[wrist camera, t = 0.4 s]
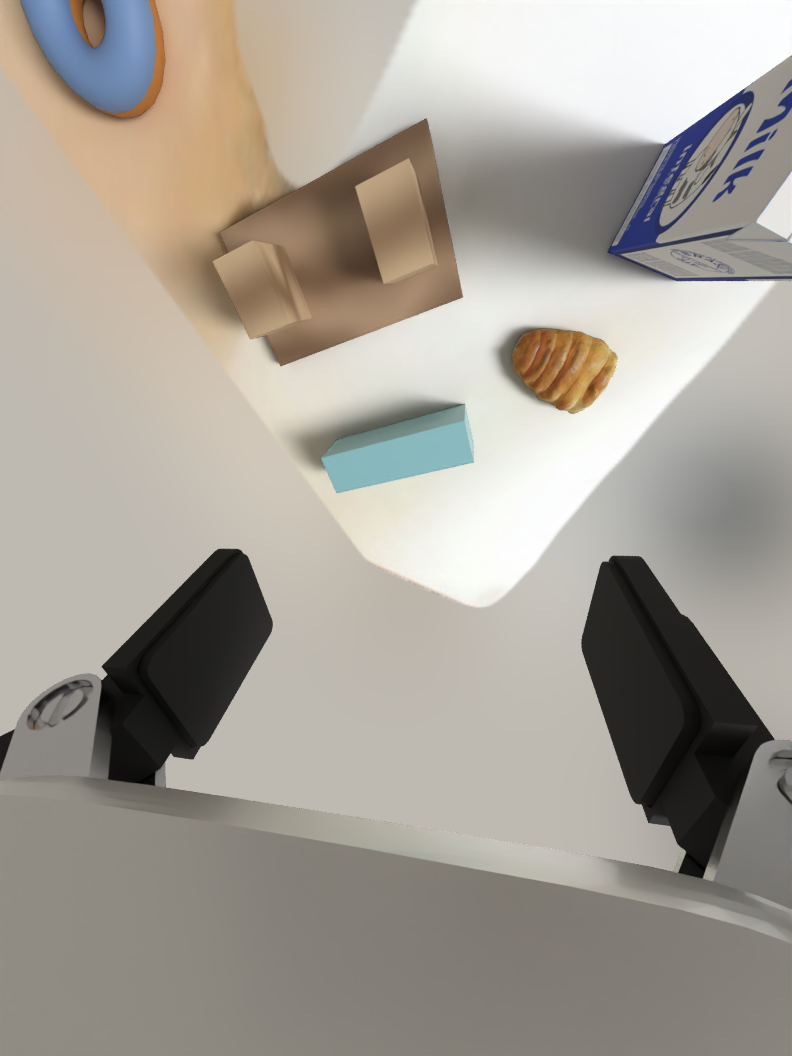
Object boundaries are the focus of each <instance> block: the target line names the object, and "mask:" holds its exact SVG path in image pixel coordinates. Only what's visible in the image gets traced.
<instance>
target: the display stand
mask: <svg viewBox="0 0 792 1056" xmlns="http://www.w3.org/2000/svg"><path fill="white" fill-rule="evenodd" d="M220 235H221V238H222V240H223V242H224V244H225V246H226V249H227V251H228V253H227V254H225V255H223V256H221V257H220V258H218V259H216V260H214V261H213V263H214V265H215V267H216V270H217V272H218V274H219V276H220V278H221V280H222V282H223V284H224V286H225V288H226V290H227V292H228V294H229V297H230V299H231V301H232V303H233V305H234V307H235V309H236V311H237V313H238V315H239V317H240V319H241V321H242V324H243V326H244V328H245V330H246V332H247V334H248V336H249V338H250V339H254V338H258V337H261V336H265V335H266V336H267V338H268V340H269V342H270V344H271V347H272V349H273V351H274V353H275V355H276V358H277V360H278V362H279V364H280V366H283V365H285V364H288V363H291V362H293V361H296V360H299V359H301V358H304V357H307V356H309V355H312V354H315V353H317V352H320V351H322V350H325V349H328V348H330V347H333V346H336V345H338V344H341V343H344V342H346V341H349V340H352V339H354V338H357V337H359V336H362V335H365V334H367V333H370V332H373V331H375V330H378V329H381V328H383V327H386V326H388V325H391V324H394V323H396V322H399V321H402V320H404V319H407V318H410V317H412V316H415V315H418V314H420V313H423V312H425V311H428V310H431V309H433V308H436V307H439V306H441V305H444V304H447V303H449V302H452V301H455V300H457V299H460V298H462V297H463V295H462V290H461V285H460V280H459V275H458V270H457V265H456V260H455V255H454V250H453V245H452V240H451V235H450V230H449V226H448V221H447V216H446V211H445V206H444V201H443V196H442V191H441V186H440V181H439V176H438V171H437V166H436V161H435V156H434V151H433V146H432V141H431V136H430V131H429V126H428V122H427V118H426V119H424V120H422V121H421V122H419V123H417V124H415V125H413V126H412V127H410V128H408V129H406V130H404V131H403V132H401V133H399V134H397V135H395V136H393V137H392V138H390V139H388V140H386V141H384V142H383V143H381V144H379V145H377V146H375V147H374V148H372V149H370V150H368V151H366V152H365V153H363V154H361V155H359V156H357V157H355V158H354V159H352V160H350V161H348V162H346V163H345V164H343V165H341V166H339V167H337V168H336V169H334V170H332V171H330V172H328V173H326V174H325V175H323V176H321V177H319V178H317V179H316V180H314V181H312V182H310V183H308V184H307V185H305V186H303V187H301V188H299V189H298V190H296V191H294V192H292V193H290V194H288V195H287V196H285V197H283V198H281V199H279V200H278V201H276V202H274V203H272V204H270V205H269V206H267V207H265V208H263V209H261V210H259V211H258V212H256V213H254V214H252V215H250V216H249V217H247V218H245V219H243V220H241V221H240V222H238V223H236V224H234V225H232V226H231V227H229V228H227V229H225V230H223V231H221V232H220Z"/></svg>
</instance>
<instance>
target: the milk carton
mask: <svg viewBox="0 0 792 1056" xmlns="http://www.w3.org/2000/svg"><path fill="white" fill-rule="evenodd" d="M608 252H609V253H611V254H614V255H616V256H619V257H621V258H623V259H626V260H628V261H631V262H633V263H635V264H638V265H640V266H643V267H645V268H647V269H650V270H652V271H655V272H657V273H660V274H662V275H664V276H667V277H669V278H672V279H674V280H676V281H792V56H790V57H789V58H787V59H786V60H784V61H783V62H782V63H780V64H779V65H777V66H776V67H774V68H773V69H772V70H770V71H769V72H767V73H766V74H765V75H763V76H762V77H760V78H759V79H757V80H756V81H755V82H753V83H752V84H750V85H749V86H747V87H746V88H745V89H743V90H742V91H740V92H739V93H737V94H736V95H735V96H733V97H732V98H730V99H729V100H728V101H726V102H725V103H723V104H722V105H720V106H719V107H718V108H716V109H715V110H713V111H712V112H710V113H709V114H708V115H706V116H705V117H703V118H702V119H700V120H699V121H698V122H696V123H695V124H693V125H692V126H691V127H689V128H688V129H686V130H685V131H683V132H682V133H681V134H679V135H678V136H676V137H675V138H673V139H672V140H671V141H669V142H668V143H666V144H665V146H664V148H663V150H662V151H661V153H660V155H659V157H658V159H657V161H656V163H655V165H654V166H653V168H652V170H651V172H650V174H649V176H648V178H647V179H646V181H645V183H644V185H643V187H642V189H641V191H640V192H639V194H638V196H637V198H636V200H635V202H634V204H633V205H632V207H631V209H630V211H629V213H628V215H627V217H626V218H625V220H624V222H623V224H622V226H621V228H620V230H619V232H618V233H617V235H616V237H615V239H614V241H613V243H612V245H611V246H610V248H609V250H608Z"/></svg>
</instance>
